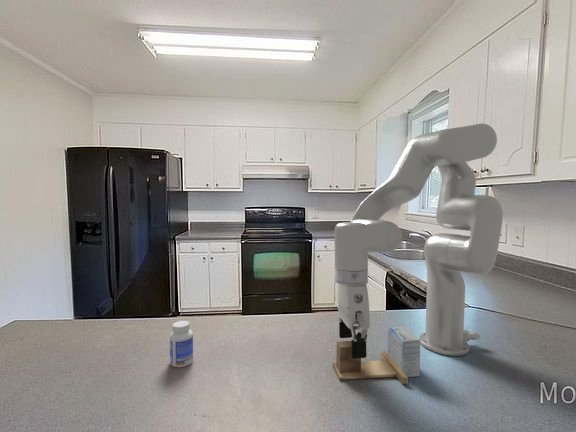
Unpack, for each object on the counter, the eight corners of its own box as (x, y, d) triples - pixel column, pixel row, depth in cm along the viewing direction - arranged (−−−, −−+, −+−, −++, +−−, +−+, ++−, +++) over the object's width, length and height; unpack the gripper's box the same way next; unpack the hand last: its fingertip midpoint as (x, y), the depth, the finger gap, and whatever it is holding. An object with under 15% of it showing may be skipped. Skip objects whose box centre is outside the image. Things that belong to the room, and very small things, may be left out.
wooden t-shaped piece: (384, 356, 79) (385, 331, 79) (407, 384, 67) (408, 354, 67) (329, 359, 77) (330, 333, 77) (343, 387, 65) (343, 357, 65)
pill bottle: (197, 358, 77) (197, 321, 77) (183, 369, 72) (183, 329, 72) (179, 355, 79) (179, 318, 78) (165, 365, 74) (164, 326, 73)
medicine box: (420, 377, 70) (421, 340, 70) (401, 378, 70) (402, 341, 69) (403, 359, 78) (404, 326, 78) (386, 360, 77) (387, 327, 77)
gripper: (382, 285, 63) (382, 365, 64) (354, 266, 80) (355, 330, 81) (346, 286, 62) (347, 368, 63) (326, 267, 79) (327, 332, 80)
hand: (351, 346), depth 72 cm, fingers open, 9 cm apart
